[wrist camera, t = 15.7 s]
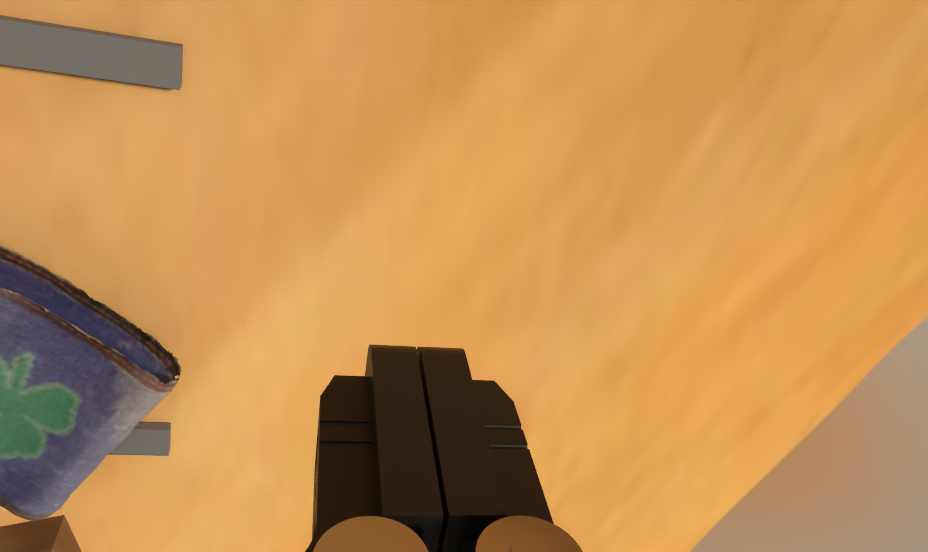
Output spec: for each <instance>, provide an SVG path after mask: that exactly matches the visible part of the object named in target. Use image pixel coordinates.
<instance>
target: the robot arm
mask: <svg viewBox="0 0 928 552" xmlns="http://www.w3.org/2000/svg"><path fill="white" fill-rule="evenodd" d="M305 552H582V550H581V548H580V547H579V545H578V544H577V543H576V541H575V540H574V539H573V538H572V537H571V536H570V535H569V534H568V533H566V532H565V531H564V530H562V529H561V528H560V527H558V526H556V525H554V523H553V521H552V518H551V515H550V512H549V508H548V505H547V502H546V499H545V496H544V493H543V490H542V487H541V484H540V481H539V478H538V475H537V472H536V469H535V466H534V463H533V460H532V457H531V454H530V450H529V449H527V441H526V438H525V435H524V432H523V430H521V423H520V420H519V417H518V414H517V411H516V408H515V405H514V402H513V401H512V399H511V398H510V397H509V396H508V395H507V394H506V393H505V392H504V391H503V390H502V389H501V388H500V386H499V385H498V384H497V383H496V382H495V381H486V380H472V377H471V373H470V369H469V366H468V362H467V358H466V354H465V351H464V349H460V348H437V347H417V349H416V347H411V346H388V345H369V348H368V354H367V363H366V372H365V376H338V375H335V376H334V377H333V379H332V380H331V382H330V383H329V385H328V386H327V387H326V389H325V390H324V392H323V393H322V395H321V396H320V408H319V421H318V434H317V447H316V459H315V474H314V502H313V528H312V542H311V543H310V545H309V547H308V548H307V550H306V551H305Z"/></svg>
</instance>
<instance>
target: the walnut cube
mask: <svg viewBox="0 0 928 552" xmlns="http://www.w3.org/2000/svg"><path fill="white" fill-rule="evenodd" d="M0 552H81V550H80V548H79V545H78V543H77V541H76V539H75V537H74V535H73V533H72V530H71V528H70V526H69V524H68V522H67V520H66V518H65V515H62V516H57V517H51V518H46V519H40V520H38V521H29V522H24V523H19V524H13V525H8V526H2V527H0Z"/></svg>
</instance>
